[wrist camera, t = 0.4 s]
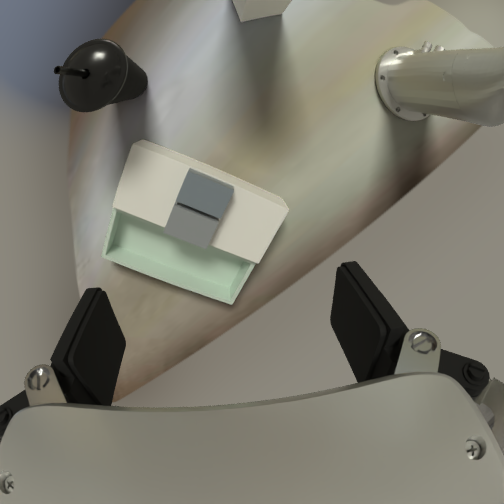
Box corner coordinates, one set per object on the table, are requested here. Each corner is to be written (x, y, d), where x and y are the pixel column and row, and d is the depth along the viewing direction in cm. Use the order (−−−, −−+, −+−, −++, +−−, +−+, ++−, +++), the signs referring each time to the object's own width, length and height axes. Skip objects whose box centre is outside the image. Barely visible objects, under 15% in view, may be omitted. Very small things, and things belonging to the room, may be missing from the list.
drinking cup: (152, 110, 34) (91, 115, 16) (103, 108, 33) (17, 120, 15) (162, 58, 30) (109, 19, 13) (111, 58, 29) (31, 33, 12)
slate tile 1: (189, 167, 34) (187, 171, 32) (233, 186, 35) (234, 190, 34) (177, 195, 35) (175, 200, 34) (220, 213, 37) (220, 219, 35)
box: (122, 197, 39) (114, 206, 36) (253, 249, 46) (256, 261, 42) (109, 244, 43) (101, 256, 39) (231, 290, 49) (232, 304, 46)
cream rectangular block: (143, 139, 36) (132, 143, 31) (282, 198, 42) (289, 209, 38) (123, 195, 39) (112, 206, 35) (254, 247, 46) (258, 263, 41)
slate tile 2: (176, 199, 35) (173, 205, 34) (218, 217, 37) (218, 223, 35) (165, 226, 37) (163, 232, 35) (206, 242, 39) (206, 249, 37)
